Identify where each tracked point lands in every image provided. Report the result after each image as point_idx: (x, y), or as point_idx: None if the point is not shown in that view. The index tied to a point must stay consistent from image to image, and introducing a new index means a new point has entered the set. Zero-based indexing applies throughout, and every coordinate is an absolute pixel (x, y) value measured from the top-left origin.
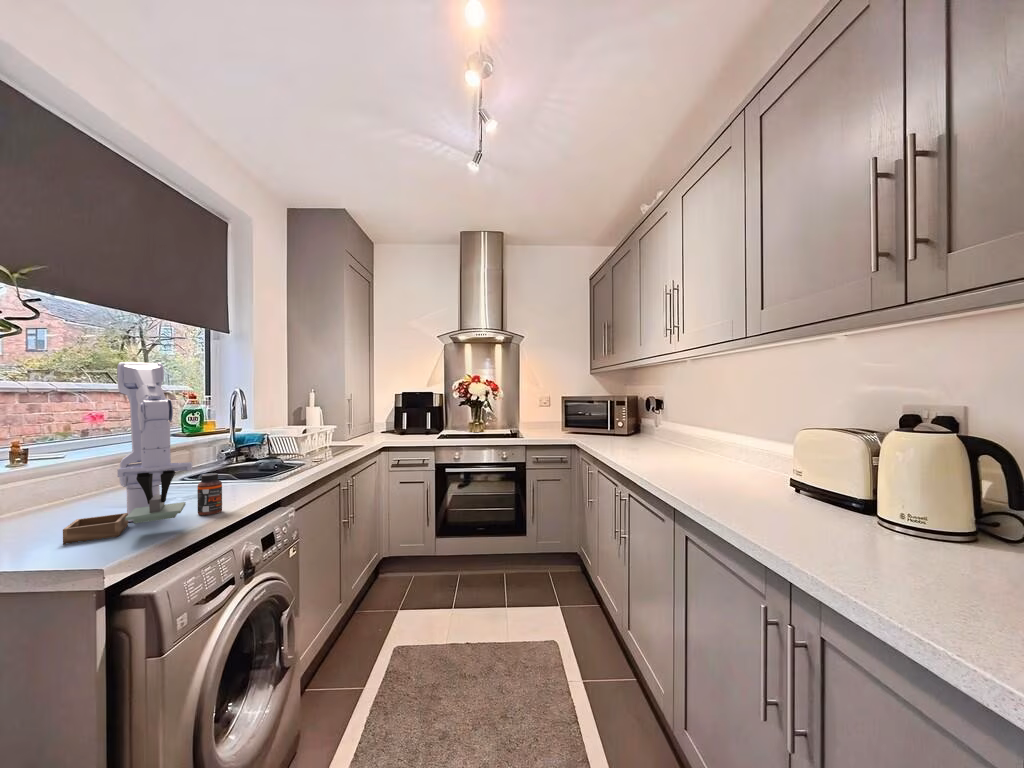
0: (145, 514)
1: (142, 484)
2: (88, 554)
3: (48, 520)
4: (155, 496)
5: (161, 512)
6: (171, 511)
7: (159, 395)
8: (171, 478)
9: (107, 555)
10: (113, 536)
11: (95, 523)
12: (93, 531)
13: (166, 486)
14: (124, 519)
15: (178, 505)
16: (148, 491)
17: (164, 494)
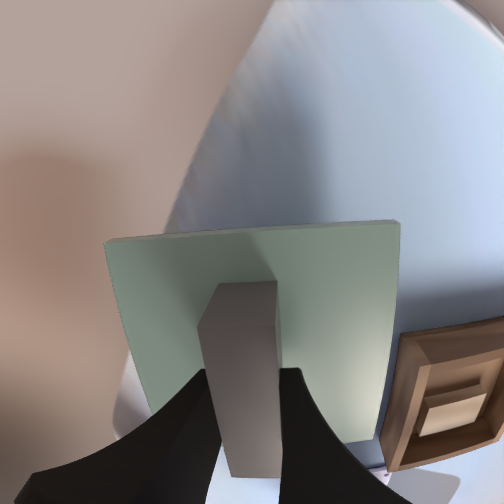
0: (293, 245)
1: (353, 481)
2: (446, 119)
3: (488, 494)
4: (268, 449)
5: (200, 249)
6: (144, 242)
7: None
8: (46, 471)
9: (375, 56)
10: (415, 332)
11: (459, 435)
12: (476, 339)
13: (132, 438)
14: (396, 432)
15: (165, 392)
16: (293, 427)
17: (177, 396)
